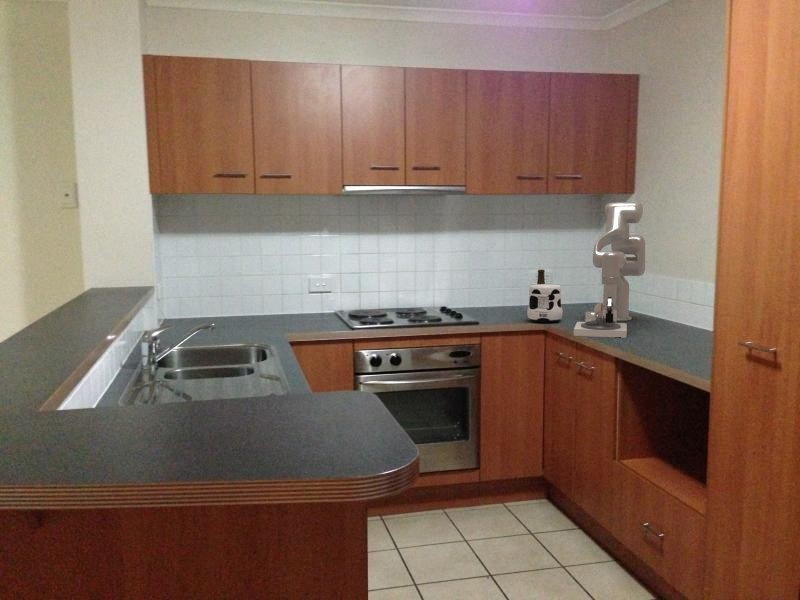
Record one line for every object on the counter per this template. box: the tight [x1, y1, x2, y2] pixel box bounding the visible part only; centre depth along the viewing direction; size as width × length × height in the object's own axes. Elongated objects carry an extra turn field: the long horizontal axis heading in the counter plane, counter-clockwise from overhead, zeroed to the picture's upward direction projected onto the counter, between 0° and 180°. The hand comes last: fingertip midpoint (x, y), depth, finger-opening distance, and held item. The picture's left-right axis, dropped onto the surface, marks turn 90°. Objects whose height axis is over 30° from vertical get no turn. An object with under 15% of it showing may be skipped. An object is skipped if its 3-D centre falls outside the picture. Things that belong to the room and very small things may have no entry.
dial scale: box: [573, 302, 628, 339], centre depth 304 cm, size 22×22×12 cm
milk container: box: [526, 283, 564, 323], centre depth 339 cm, size 17×17×18 cm
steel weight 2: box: [602, 309, 618, 323], centre depth 301 cm, size 6×6×6 cm
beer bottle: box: [536, 269, 546, 284], centre depth 364 cm, size 8×8×24 cm
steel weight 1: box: [584, 311, 599, 326], centre depth 304 cm, size 6×6×6 cm
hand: (609, 320), depth 302 cm, fingers closed on steel weight 2, 6 cm apart
